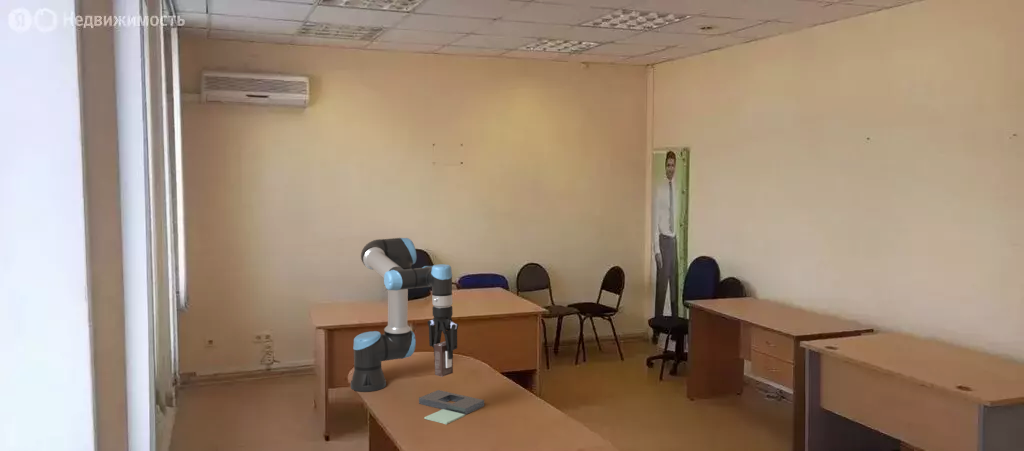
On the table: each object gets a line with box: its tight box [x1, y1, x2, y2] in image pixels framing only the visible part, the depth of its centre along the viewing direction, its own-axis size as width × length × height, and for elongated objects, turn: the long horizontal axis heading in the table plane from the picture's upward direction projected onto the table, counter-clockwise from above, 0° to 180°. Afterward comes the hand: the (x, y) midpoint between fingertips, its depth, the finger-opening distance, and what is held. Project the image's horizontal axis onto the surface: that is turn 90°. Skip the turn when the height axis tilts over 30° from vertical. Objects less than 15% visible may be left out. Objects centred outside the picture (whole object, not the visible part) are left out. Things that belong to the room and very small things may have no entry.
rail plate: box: [418, 389, 485, 416], centre depth 300 cm, size 24×12×2 cm, turn 55°
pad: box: [423, 409, 466, 425], centre depth 286 cm, size 11×11×1 cm
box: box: [433, 340, 454, 377], centre depth 284 cm, size 6×4×12 cm
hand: (443, 366), depth 284 cm, fingers closed on box, 4 cm apart
